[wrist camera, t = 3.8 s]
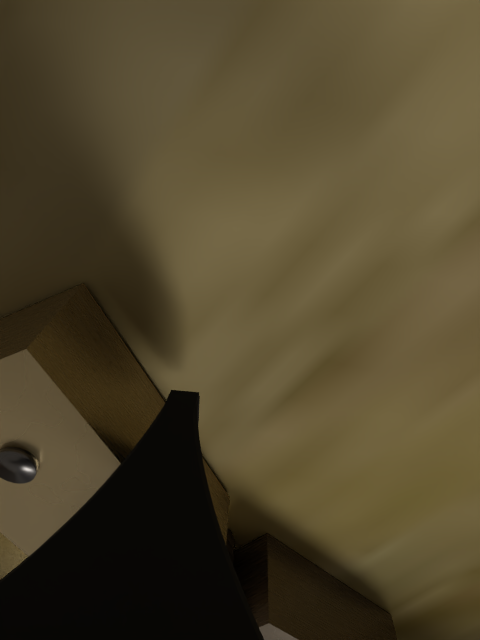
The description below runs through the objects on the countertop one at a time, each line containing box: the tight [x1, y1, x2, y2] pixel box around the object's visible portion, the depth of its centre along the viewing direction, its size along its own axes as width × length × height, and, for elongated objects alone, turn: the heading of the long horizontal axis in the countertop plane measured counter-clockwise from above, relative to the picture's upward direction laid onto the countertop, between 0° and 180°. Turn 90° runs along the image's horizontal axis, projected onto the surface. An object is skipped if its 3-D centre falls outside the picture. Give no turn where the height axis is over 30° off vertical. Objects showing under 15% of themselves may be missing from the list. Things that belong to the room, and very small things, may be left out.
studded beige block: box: [0, 283, 230, 556], centre depth 12 cm, size 4×9×3 cm, turn 24°
